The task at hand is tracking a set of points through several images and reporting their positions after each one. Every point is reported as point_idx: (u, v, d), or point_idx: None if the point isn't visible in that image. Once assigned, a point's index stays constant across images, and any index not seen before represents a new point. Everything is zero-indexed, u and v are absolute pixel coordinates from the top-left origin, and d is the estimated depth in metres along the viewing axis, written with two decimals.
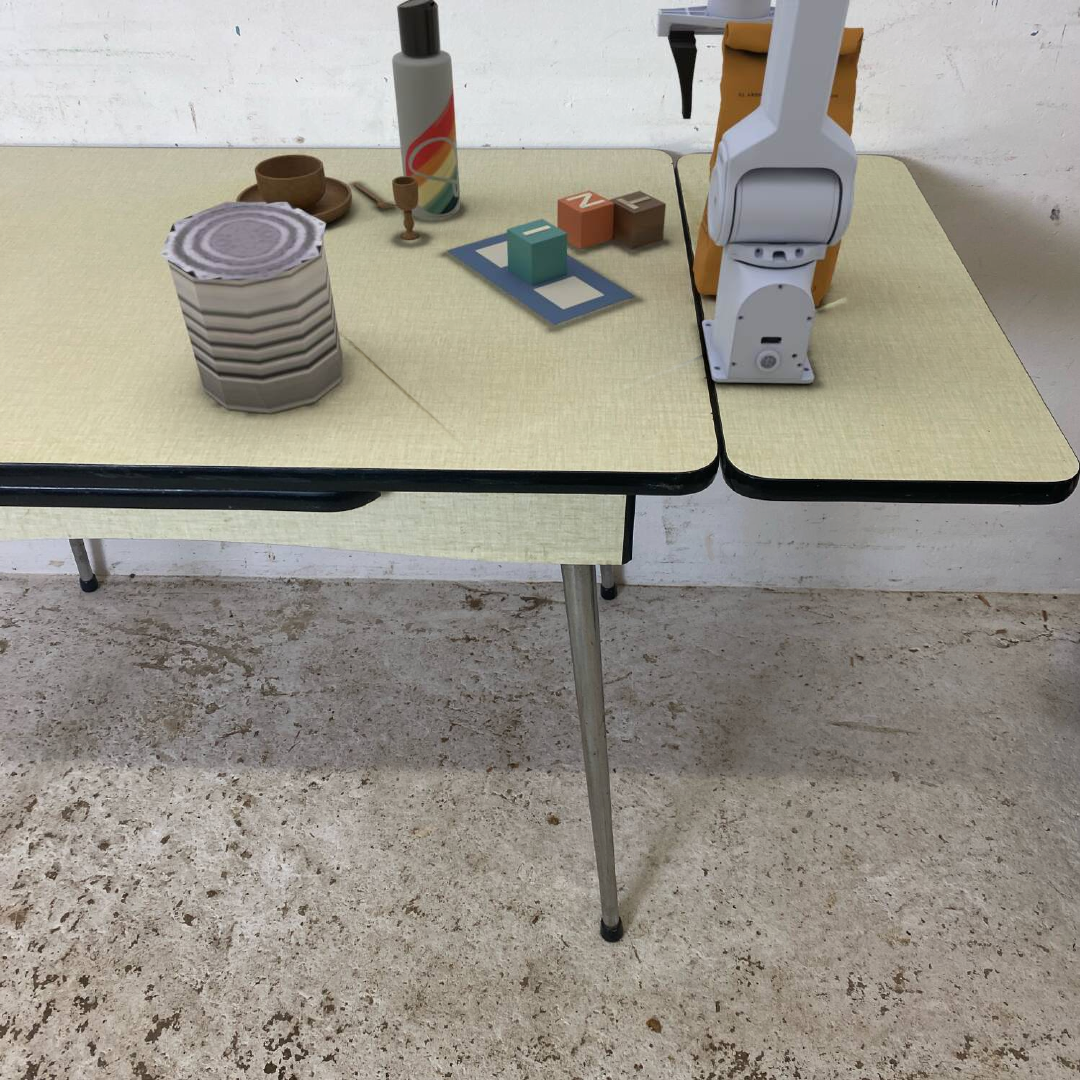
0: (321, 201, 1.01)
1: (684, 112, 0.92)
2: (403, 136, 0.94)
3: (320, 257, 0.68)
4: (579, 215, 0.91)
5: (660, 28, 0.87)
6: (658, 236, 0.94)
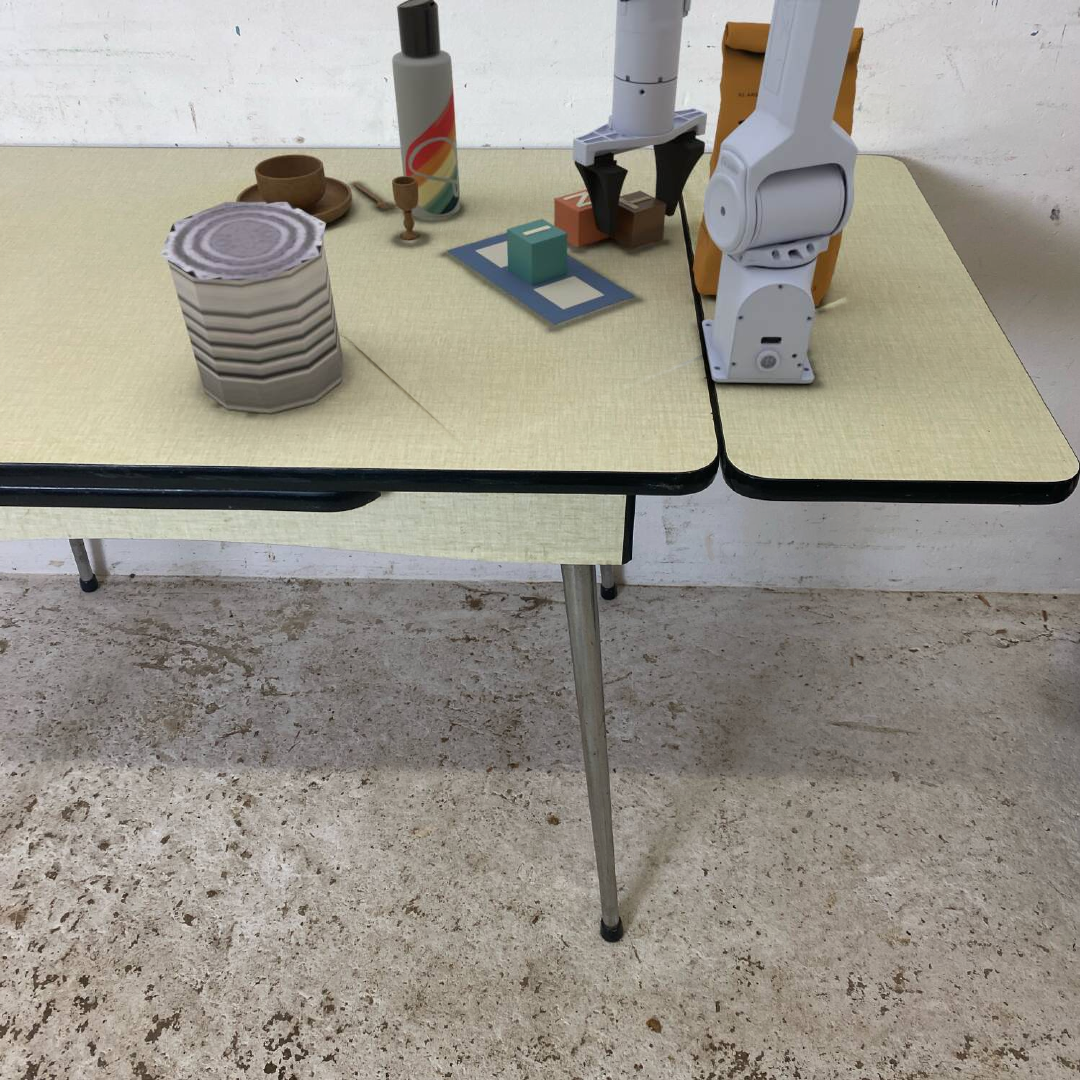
0: (321, 201, 1.01)
1: (609, 229, 0.91)
2: (403, 136, 0.94)
3: (320, 257, 0.68)
4: (576, 214, 0.91)
5: (587, 158, 0.85)
6: (658, 236, 0.94)
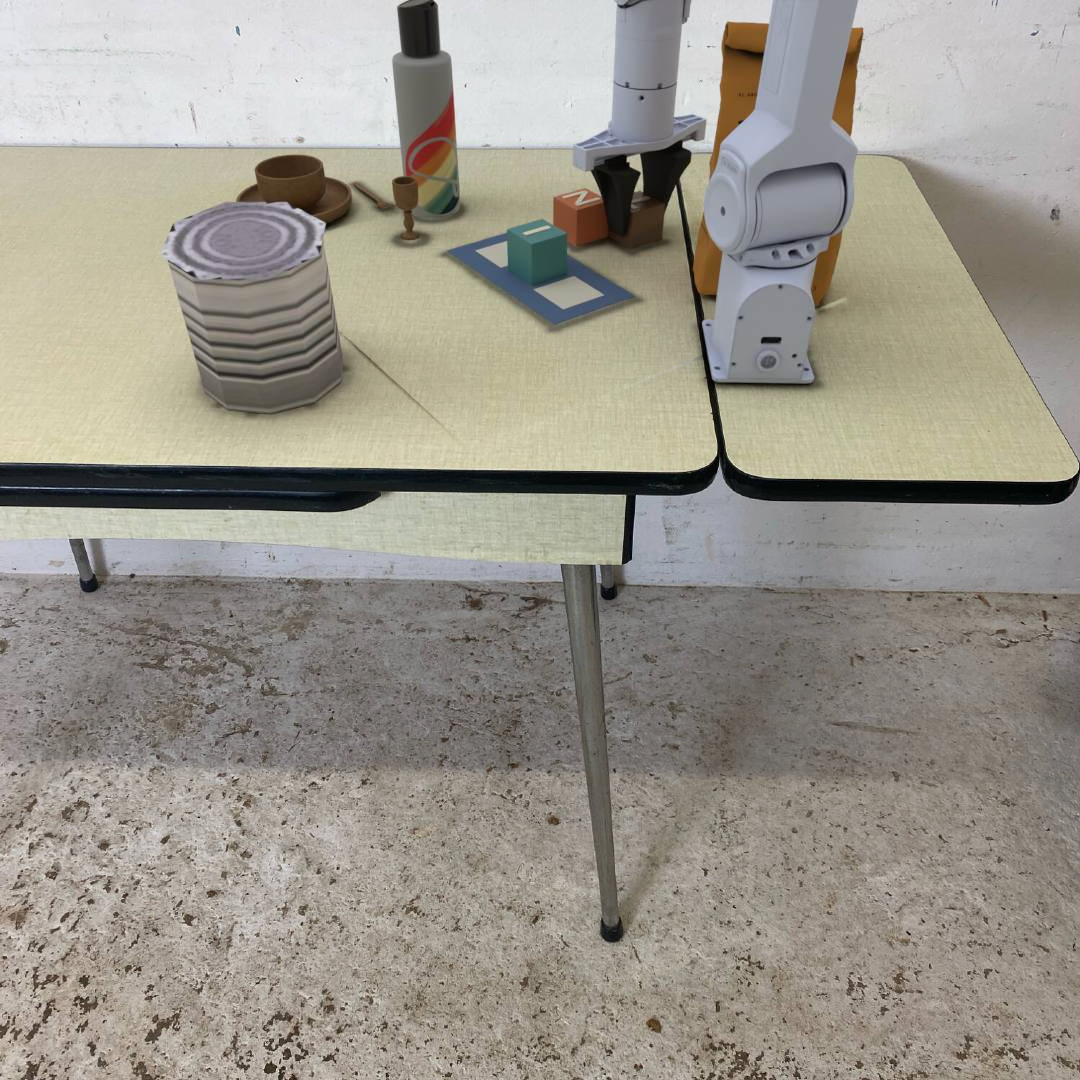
0: (321, 201, 1.01)
1: (622, 230, 0.92)
2: (403, 136, 0.94)
3: (320, 257, 0.68)
4: (574, 212, 0.91)
5: (587, 163, 0.85)
6: (657, 236, 0.93)
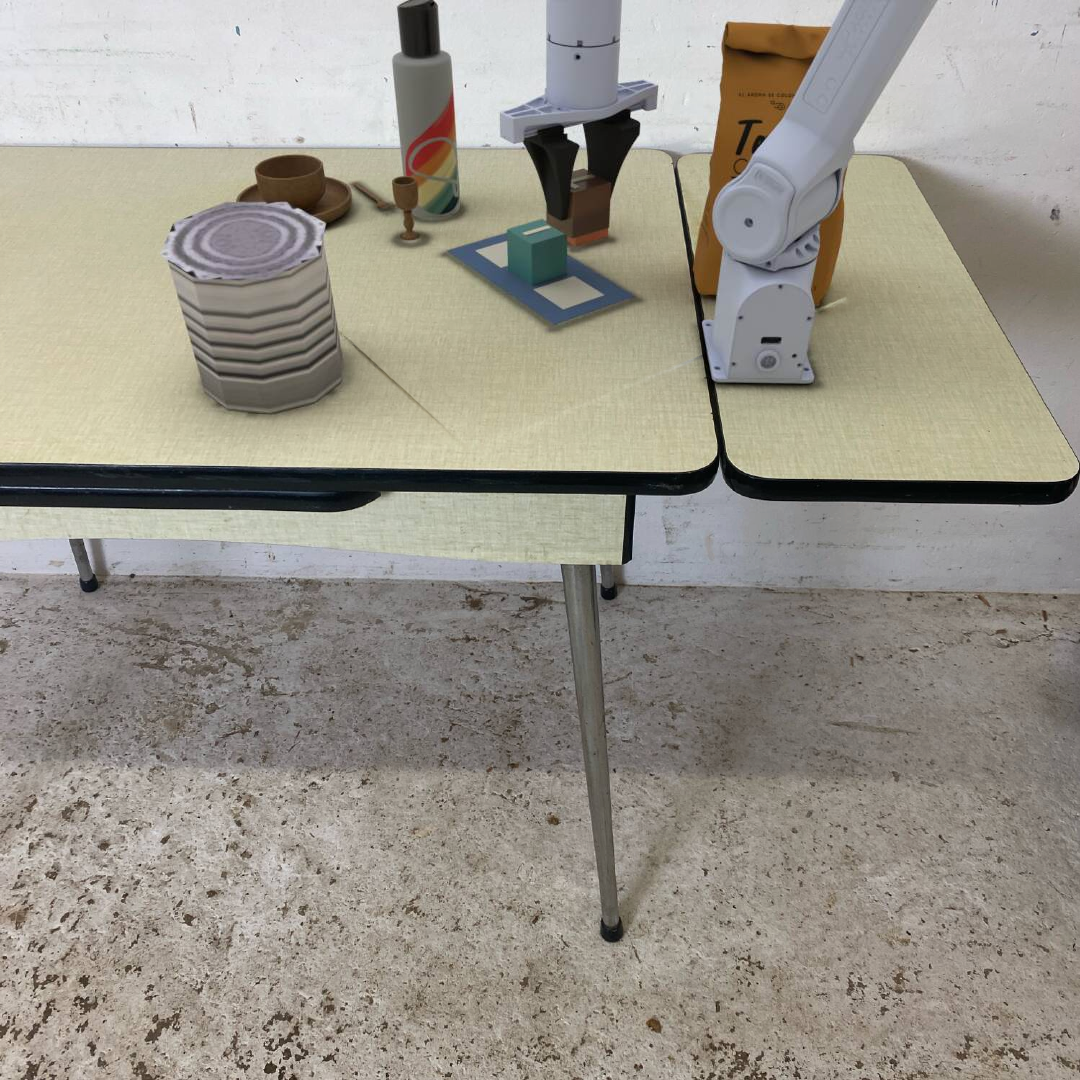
0: (321, 201, 1.01)
1: (562, 213, 0.80)
2: (403, 136, 0.94)
3: (320, 257, 0.68)
4: None
5: (515, 134, 0.73)
6: (603, 220, 0.82)
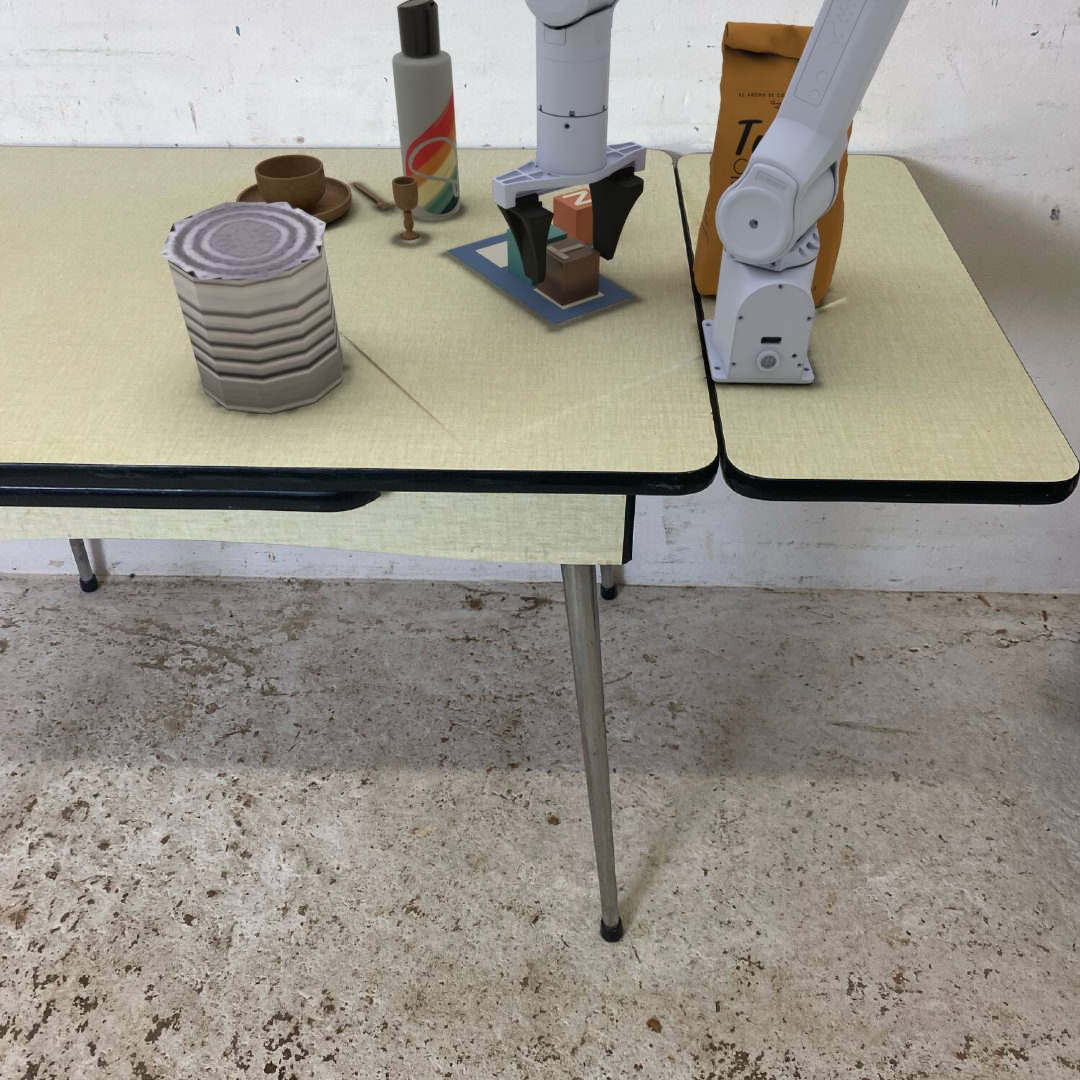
0: (321, 201, 1.01)
1: (538, 277, 0.81)
2: (403, 136, 0.94)
3: (320, 257, 0.68)
4: (574, 212, 0.91)
5: (507, 200, 0.75)
6: (592, 287, 0.84)
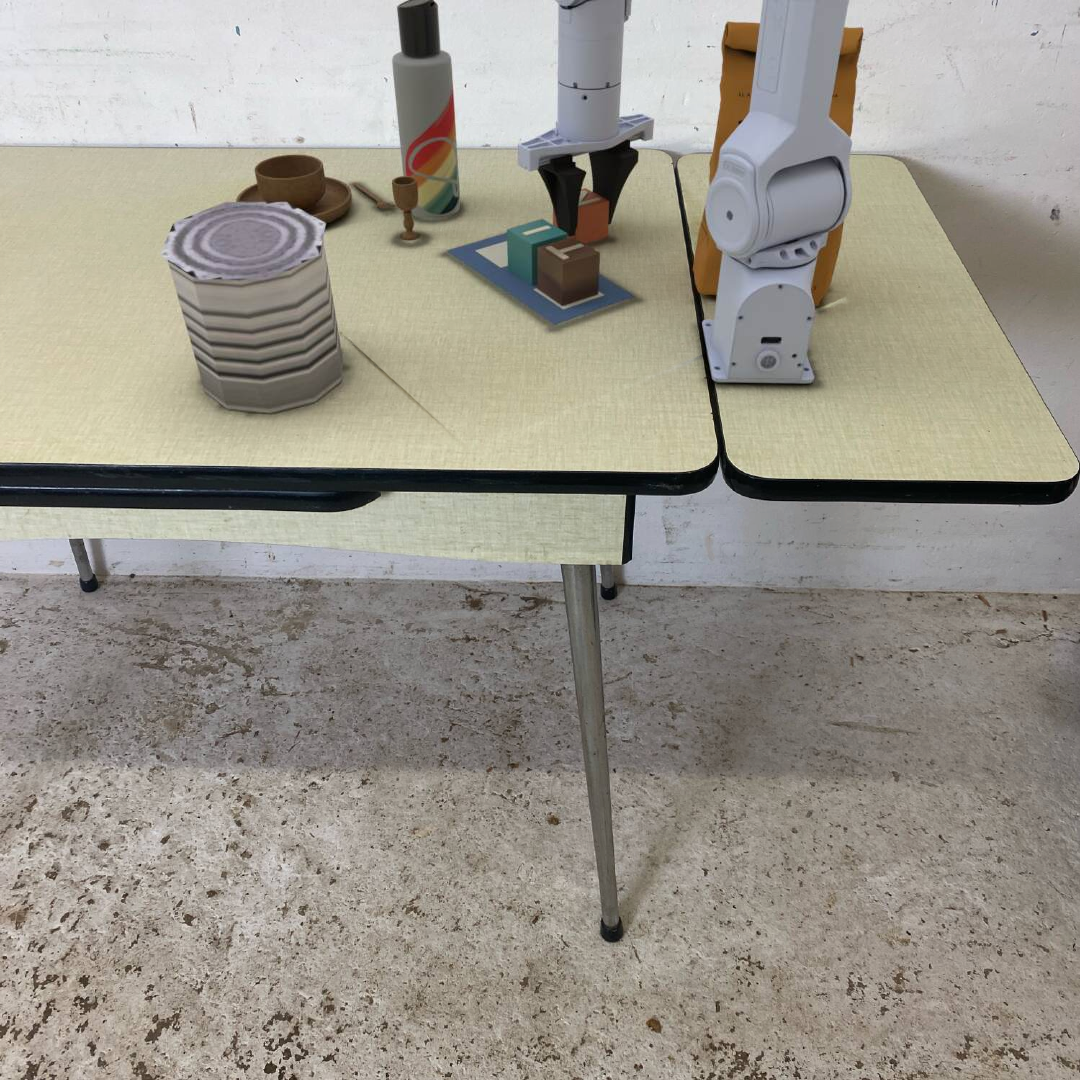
0: (321, 201, 1.01)
1: (570, 230, 0.92)
2: (403, 136, 0.94)
3: (320, 257, 0.68)
4: None
5: (531, 163, 0.85)
6: (592, 287, 0.84)
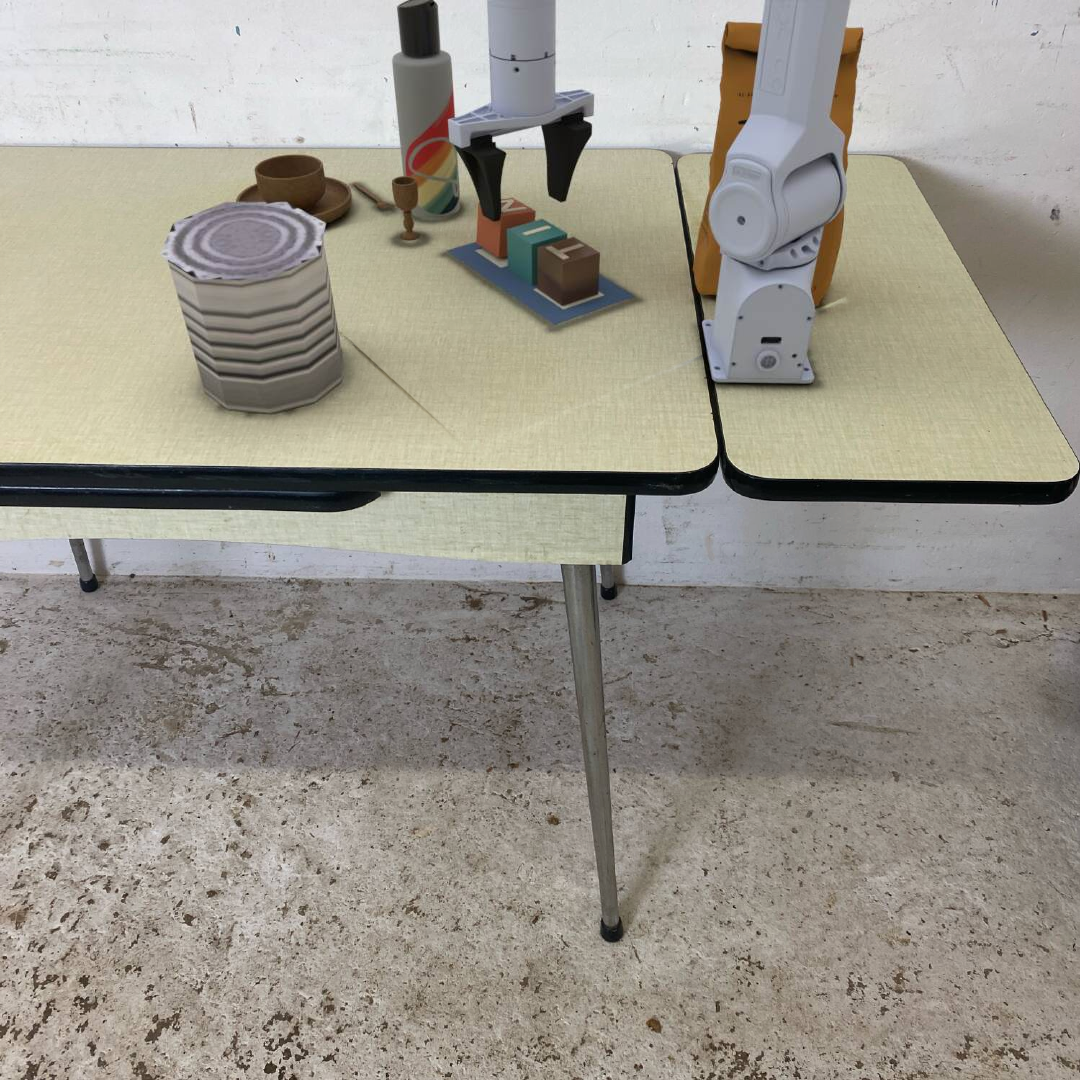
0: (321, 201, 1.01)
1: (494, 215, 0.87)
2: (403, 136, 0.94)
3: (320, 257, 0.68)
4: None
5: (462, 139, 0.81)
6: (592, 287, 0.84)
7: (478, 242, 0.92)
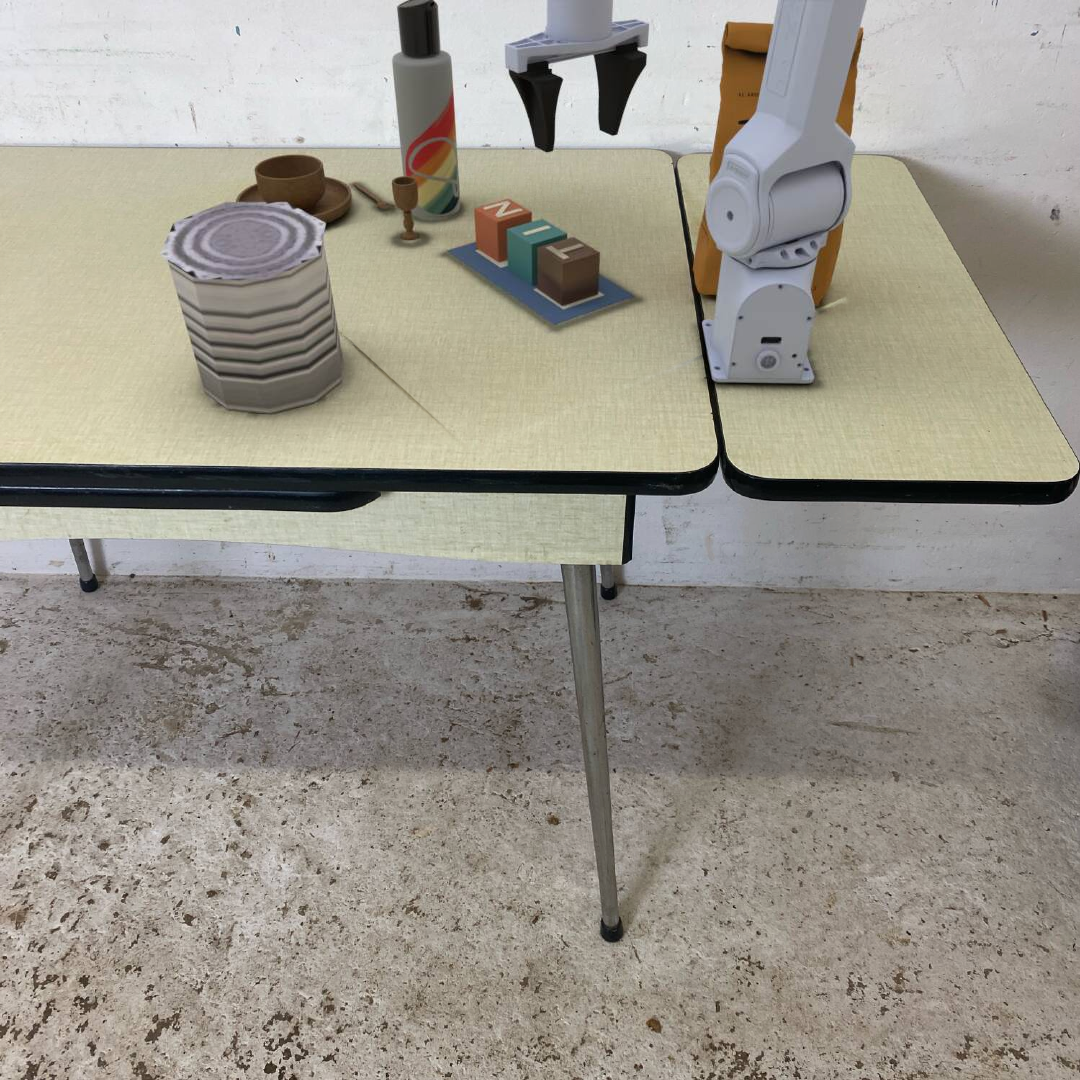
0: (321, 201, 1.01)
1: (547, 145, 0.86)
2: (403, 136, 0.94)
3: (320, 257, 0.68)
4: (494, 224, 0.88)
5: (519, 64, 0.80)
6: (592, 287, 0.84)
7: (478, 247, 0.92)
